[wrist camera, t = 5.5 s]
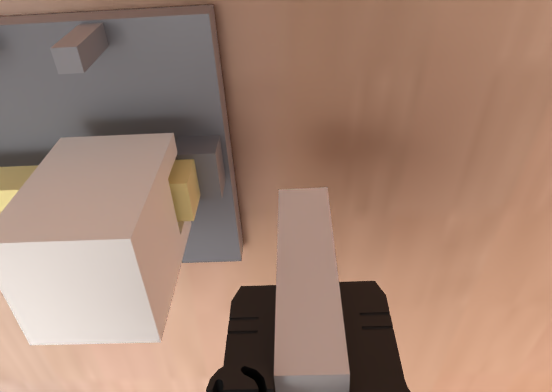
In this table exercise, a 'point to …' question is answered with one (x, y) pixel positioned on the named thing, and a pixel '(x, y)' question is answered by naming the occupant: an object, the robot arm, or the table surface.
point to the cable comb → (125, 104)
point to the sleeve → (94, 242)
